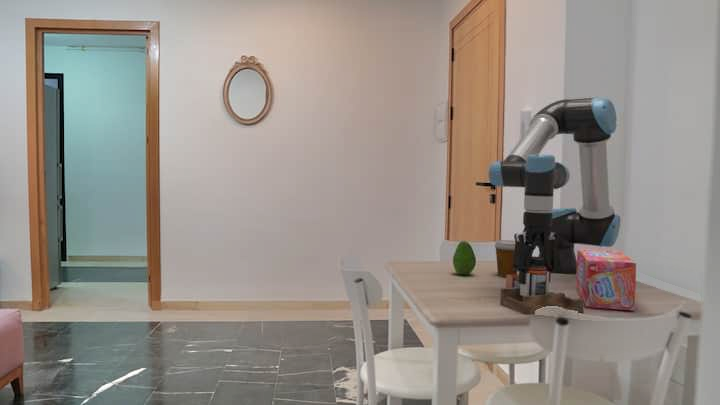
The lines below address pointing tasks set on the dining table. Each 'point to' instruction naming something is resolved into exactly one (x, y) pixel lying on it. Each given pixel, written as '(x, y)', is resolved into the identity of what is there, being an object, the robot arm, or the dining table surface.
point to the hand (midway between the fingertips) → (533, 294)
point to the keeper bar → (512, 281)
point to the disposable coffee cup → (505, 257)
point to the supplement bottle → (537, 276)
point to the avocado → (464, 258)
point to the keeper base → (537, 301)
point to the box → (606, 279)
